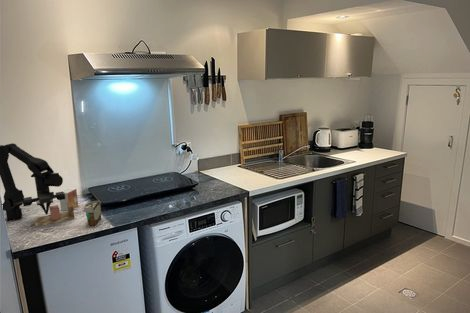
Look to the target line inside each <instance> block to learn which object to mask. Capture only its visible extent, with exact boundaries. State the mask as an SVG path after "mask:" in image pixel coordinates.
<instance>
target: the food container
mask: <svg viewBox="0 0 470 313" xmlns="http://www.w3.org/2000/svg"><path fill="white" fill-rule="evenodd" d="M101 204H102V203H101V200H93V201H90V202H88V203H86V204H84V207H83V211H84V212H85V214H86V219H87V225H88V226H89V227H92V226H94V227H95V226H96V225H97V226H98V224H99V223H100V222H101V221H102V210H101V207H102V206H101ZM97 226H96V227H97Z"/></svg>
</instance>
